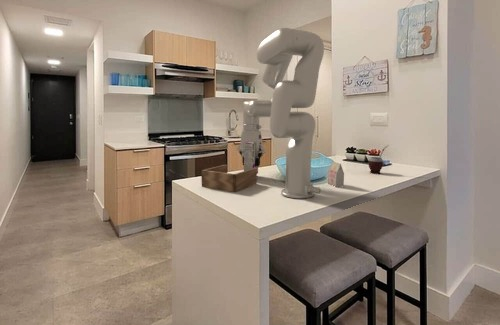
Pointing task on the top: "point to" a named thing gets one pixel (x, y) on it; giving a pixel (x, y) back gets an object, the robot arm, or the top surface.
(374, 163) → the mate gourd
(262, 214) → the top surface
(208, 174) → the walnut crate
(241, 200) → the top surface
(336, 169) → the toy house
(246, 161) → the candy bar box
